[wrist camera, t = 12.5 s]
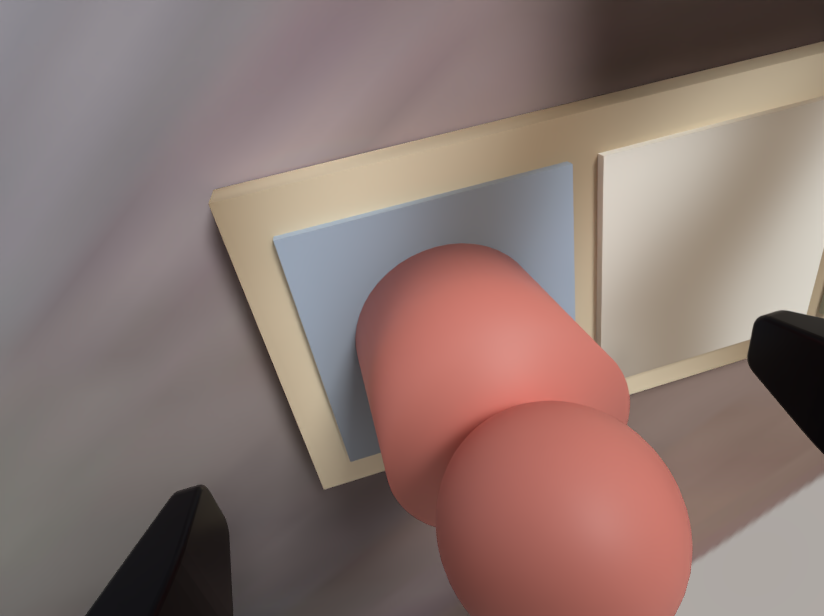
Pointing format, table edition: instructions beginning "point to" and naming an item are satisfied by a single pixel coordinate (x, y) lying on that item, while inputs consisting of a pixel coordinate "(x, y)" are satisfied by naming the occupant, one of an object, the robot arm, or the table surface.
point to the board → (553, 231)
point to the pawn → (517, 443)
